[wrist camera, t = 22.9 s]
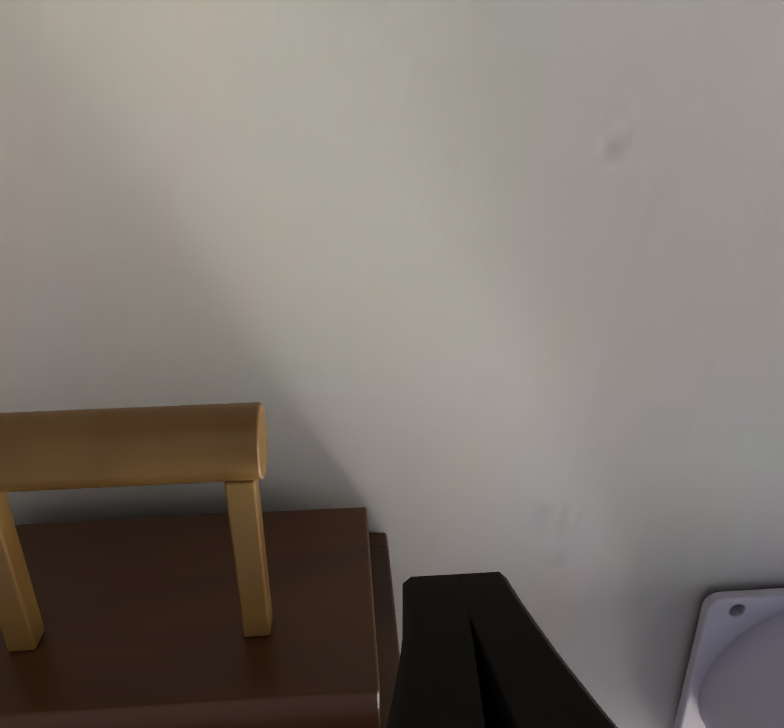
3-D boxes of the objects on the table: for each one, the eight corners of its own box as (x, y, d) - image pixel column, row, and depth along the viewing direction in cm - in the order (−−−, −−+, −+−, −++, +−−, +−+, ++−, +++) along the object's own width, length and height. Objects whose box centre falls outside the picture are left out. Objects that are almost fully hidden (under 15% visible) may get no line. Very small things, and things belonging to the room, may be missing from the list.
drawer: (-69, 334, 17) (-267, 485, 11) (361, 321, 18) (375, 455, 12) (80, 826, 25) (6, 1060, 19) (374, 803, 25) (386, 1022, 20)
